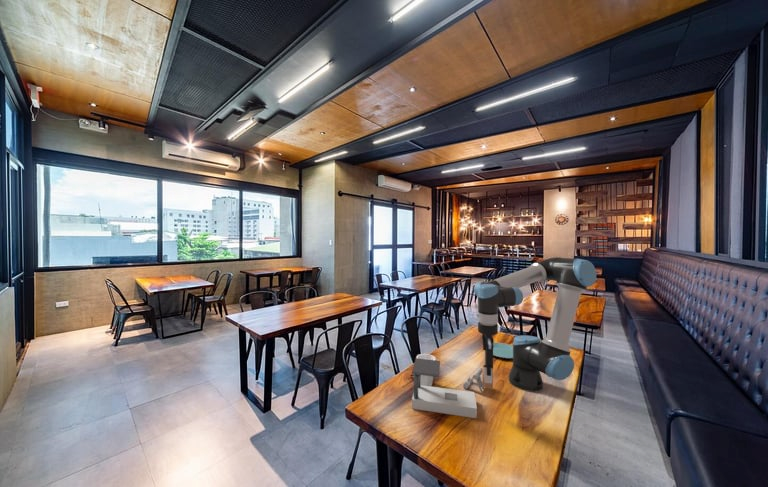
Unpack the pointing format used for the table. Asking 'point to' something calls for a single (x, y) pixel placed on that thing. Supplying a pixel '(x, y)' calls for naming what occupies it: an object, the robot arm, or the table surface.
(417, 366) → the dark grey l-shaped piece
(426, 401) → the board
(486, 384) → the peg
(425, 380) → the foam cup
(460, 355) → the table surface
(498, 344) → the plate
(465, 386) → the portable electronic device stand
